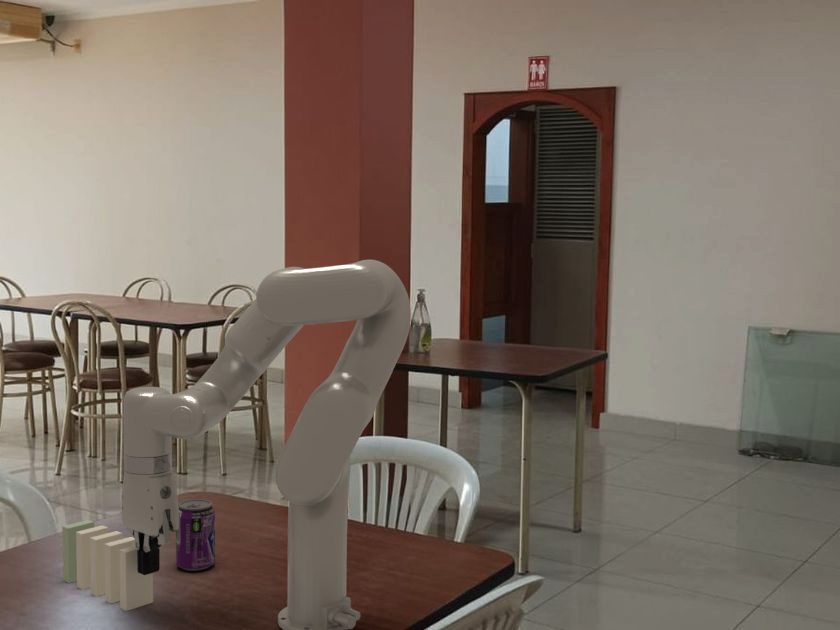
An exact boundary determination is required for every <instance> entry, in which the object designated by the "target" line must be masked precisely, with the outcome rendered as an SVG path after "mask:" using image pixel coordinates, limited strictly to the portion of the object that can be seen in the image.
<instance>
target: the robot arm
mask: <svg viewBox="0 0 840 630" xmlns="http://www.w3.org/2000/svg"><path fill="white" fill-rule="evenodd" d="M411 316H412V311H411V303H410V298H409V294H408V292H407V290H406V287H405V285H404V283H403V282H402V280H401V278H400V277H399V275H397V273H396V272H395V271H394V270H393V269H392V268H391V267H390V266H389V265H387V264H386V263H384V262H382V261H380V260H376V259H362V260H359V261H356V262H352V263H347V264H340V265H331V266H320V267H311V268H304V267H299V266H289V267H284V268H280V269H278V270H275V271H273V272H271V273H269V274H267V275H266V276H265V277H264V278H263V279H262V281H260V284H259V286H258V287H257V290H256V298H255V299H254V300H253V302H251V304H250V305H249V306H248V307H247V308H246V310H244V312H243V313H242V314H241V316H240V317H239V318H238V319H237V320H236V321H235V322H234V323H233V325H232V326H231V327H230V328H229V329H228V330H227V333H226V335H225V337H224V338H225V339H224V346H223V348H222V351H221V352H220V354H219V355H218V357H217V358H216V360H215V361H214V362H213V363H212V364H211V366H210V367H209V368H208V369H207V370H206V372H204V374H203V375H202V376H201V377H200V378H199V379H198V380H197V382H196V383H195V384H193V386H190V387H188V388H186V389H184V391H180V392H177V393H171V392H170V391H169V390H168V389H166V388H164V387H158V386H140V387H135V388H131V389H129V390H128V391H126V392H125V394H124V398H123V458H124V459H123V462H124V463H123V467H124V470H123V473H124V474H123V479H122V480H123V481H122V491H121V520H122V523H123V525H125V526H126V530H127V531H128V532H129V533H131V534H132V537H133V538H135V547H136V548H137V549H139V550H137V571H138V573H140V574H142V575H147V574H151V573H153V574H154V573H157V572H159V571H160V567H161V566H160V561H161V560H160V557H161V556H160V552H161V550H160V549H162V548H163V547H162V546H163V545H165V544H167V545H168V544H170V543H171V542H172V539H171V532H172V533H174V532H175V533H176V531H177V530H178V527H179V515H178V508H179V507H178V504H179V502H178V501H179V499H178V491H177V484H176V479H175V475H174V473H173V472H172V471H173V468H172V467H173V466H172V464H173V461H172V459H173V458H172V455H173V454H172V453H173V450H172V446H173V441H172V440H173V439H172V438H175V439H180V440H193V439H197V438H199V437H200V436H203V435H204V434H206V433H207V432H208V431H209V430H211V429H212V428H214V427H215V426H216V425H218V424H220V422H221V421H223V420H224V419H225V418H226V416H227V415H229V413H230V412H231V411H232V410H233V409H234V408H235V407H236V406H237V404H238V403H239V402H240V401H241V399H242V398H243V397H244V396H245V395H246V394H247V393H248V392H249V390H250V389H251V388H252V386H253V385H254V384H255V383H256V382H257V381H258V379H259V378H260V377H261V376H262V375H263V374H264V373H265V372H266V370H267V369H268V368H269V366H270V365H271V364H272V363H273V361H274V360H276V359H277V357H278V356H279V355H280V353H281V352H282V351H283V350H284V349H285V348H286V346H287V345H288V344H289V343H290V341H291V340H293V338H294V337H295V336H296V335H297V334H298V333H299V332H300V330H301V329H302V328H303V327H304V326H309V325H320V324H330V323H340V322H341V323H342V322H343V323H344V322H351V321H356V323H355V325H354V328H353V330H352V332H351V334H350V336H349V338H348V339H347V341H346V343H345V345H344V348H343V350H342V352H341V355H340V356H339V358H338V360H337V362H336V363H335V366H334V368H333V369H332V370H331V371H332V372H330V375H329V376H328V377H327V378H326V379H325V380H324V381H323V382H322V383H321V384H320V385H318V386H317V387H316V388H315V389H314V391H313V392H311V394H310V395H309V398H308V399H307V400H306V402H305V404H304V406H303V408H302V410H301V412H300V415H299V416H298V418H297V420H296V422H295V424H294V425H293V429H292V431H291V432H290V435H289V437H288V438H287V440H286V442H285V444H284V446H283V448H282V451H281V453H280V455H279V457H278V459H277V461H276V464H275V469H274V480H275V484H276V486H277V487H276V488H277V489H278V491H279V493H280V494H281V496H282V497H283V498H284V499H285V500H287V501H288V509H287V510H288V511H287V512H288V513H287V514H288V515H287V606H286V607H284V608H282V609H281V610H280V611H279V613H278V615H277V624H278V627H279V628H281V629H282V630H352V629H354V627H355V626H356V624H357V621H359V620H360V618H361V612H360V611H358V610H356V609H353V608H352V607H351V606H352V605H351V604H352V603H351V602H352V600H351V597H349V596H347V564H348V563H347V559H348V555H347V553H348V552H347V545H348V511H349V510H348V508H349V506H348V505H349V493H350V492H349V489H350V479H351V478H350V477H351V455H352V453H353V450H354V449H355V447H356V445H357V443H358V441H359V439H360V438H361V435H362V434H363V431H365V428H366V427H367V426H368V425H369V423H370V422H371V420H372V419H373V417H374V415H375V411H376V408H377V406H378V404H379V400H380V399H381V397H382V393H383V392H384V390H385V388H386V386H387V385H388V382H389V380H390V378H391V375H392V374H393V371H394V368H395V367H396V364H397V362H398V360H399V359H400V357H401V354H402V352H403V350H404V348H405V345H406V343H407V339H408V336H409V332H410V327H411V321H412V318H411ZM221 423H222V422H221Z"/></svg>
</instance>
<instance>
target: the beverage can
mask: <svg viewBox="0 0 840 630" xmlns="http://www.w3.org/2000/svg"><path fill="white" fill-rule="evenodd" d="M178 515H179V527H178V530H177V531H175V565H176V567H178V568H180V569H183V570H184V571H189V572H197V571H198V572H199V571H200V572H201V571H204V570H207V569H208V568H209V567H211V566H214V565H215V563H216V512H215V510H214V507H213V502H212V501H211V500H209V499H204V498H201V499H200V498H199V499H198V498H197V499H195V498H194V499H186V500H183V501H181V502H178Z"/></svg>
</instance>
